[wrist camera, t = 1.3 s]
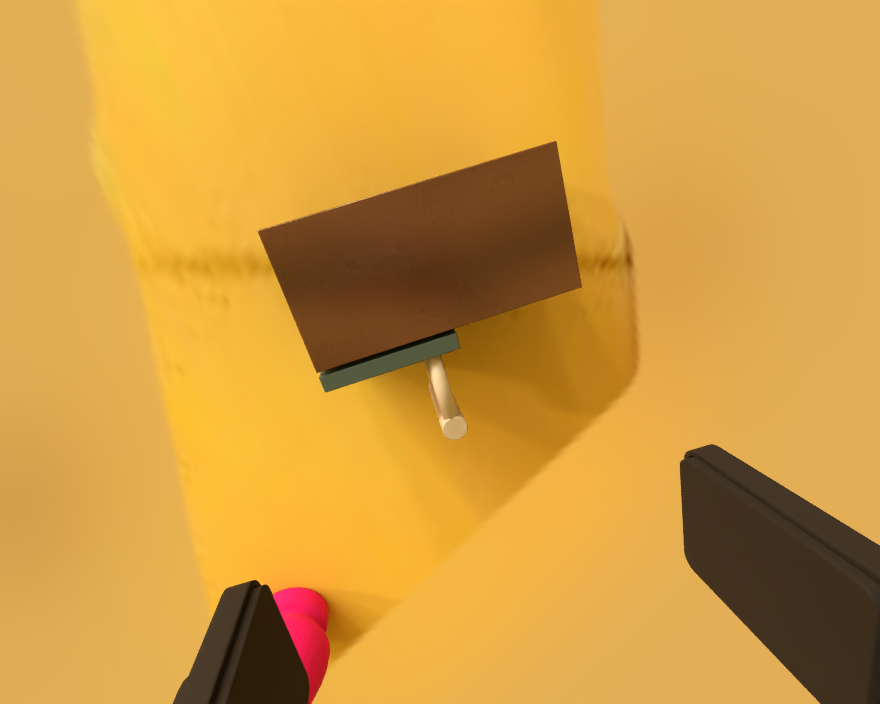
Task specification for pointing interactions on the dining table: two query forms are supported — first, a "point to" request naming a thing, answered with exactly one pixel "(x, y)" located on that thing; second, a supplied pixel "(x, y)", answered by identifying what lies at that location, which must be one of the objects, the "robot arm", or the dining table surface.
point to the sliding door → (404, 356)
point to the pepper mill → (307, 631)
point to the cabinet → (426, 256)
